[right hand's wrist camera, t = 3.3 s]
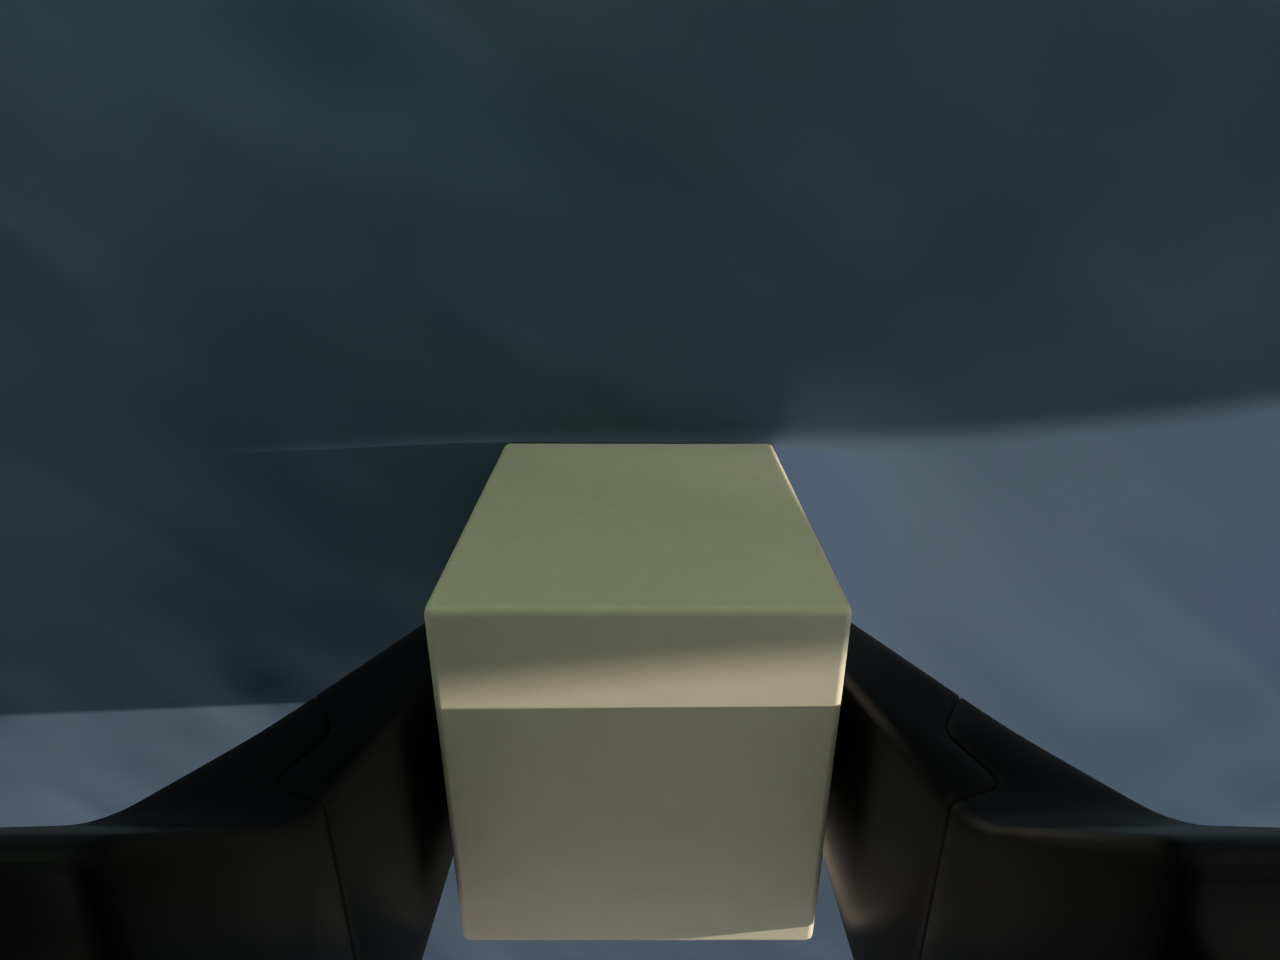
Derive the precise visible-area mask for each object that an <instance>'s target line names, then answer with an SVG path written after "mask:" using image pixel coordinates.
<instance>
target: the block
mask: <svg viewBox="0 0 1280 960" xmlns="http://www.w3.org/2000/svg"><path fill="white" fill-rule="evenodd" d="M851 617H852V611H851V608H850V606H849V604H848V602H847V599H846V597H845V595H844V593H843V591H842V589H841V587H840V585H839V583H838V581H837V579H836V577H835V575H834V573H833V571H832V569H831V567H830V565H829V562H828V560H827V558H826V556H825V554H824V552H823V550H822V548H821V546H820V544H819V542H818V540H817V538H816V536H815V534H814V532H813V530H812V528H811V525H810V523H809V521H808V519H807V517H806V515H805V513H804V511H803V509H802V507H801V505H800V503H799V501H798V499H797V497H796V495H795V493H794V490H793V488H792V486H791V484H790V482H789V480H788V478H787V476H786V474H785V472H784V470H783V468H782V466H781V464H780V462H779V460H778V458H777V456H776V453H775V451H774V449H773V447H772V446H771V445H769V444H508V445H505V447H504V449H503V451H502V453H501V455H500V457H499V459H498V461H497V463H496V465H495V467H494V470H493V472H492V474H491V476H490V478H489V480H488V482H487V484H486V486H485V488H484V490H483V492H482V494H481V496H480V498H479V500H478V502H477V504H476V506H475V508H474V510H473V512H472V514H471V516H470V518H469V520H468V522H467V524H466V526H465V528H464V530H463V532H462V534H461V536H460V538H459V540H458V542H457V544H456V546H455V548H454V550H453V552H452V554H451V557H450V559H449V561H448V563H447V565H446V567H445V569H444V571H443V573H442V575H441V577H440V579H439V581H438V583H437V585H436V587H435V589H434V591H433V593H432V595H431V597H430V599H429V601H428V603H427V605H426V607H425V610H424V618H425V626H426V634H427V643H428V651H429V659H430V667H431V675H432V683H433V692H434V700H435V708H436V716H437V724H438V732H439V741H440V749H441V757H442V765H443V773H444V781H445V790H446V798H447V806H448V814H449V822H450V830H451V838H452V847H453V855H454V863H455V871H456V879H457V887H458V896H459V904H460V912H461V920H462V928H463V934H464V937H465V938H467V939H469V940H807V939H809V938H811V936H812V932H813V926H814V918H815V910H816V902H817V893H818V885H819V877H820V869H821V861H822V853H823V845H824V837H825V828H826V820H827V812H828V804H829V796H830V788H831V780H832V772H833V764H834V755H835V747H836V739H837V731H838V723H839V715H840V707H841V699H842V690H843V682H844V674H845V666H846V658H847V650H848V642H849V634H850V625H851Z"/></svg>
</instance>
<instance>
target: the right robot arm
mask: <svg viewBox="0 0 1280 960" xmlns="http://www.w3.org/2000/svg"><path fill="white" fill-rule="evenodd" d="M822 854H823V858H824V861H825V864H826V868H827V871H828V874H829V878H830V881H831V885H832V888H833V891H834V895H835V898H836V901H837V905H838V908H839V911H840V915H841V918H842V922H843V925H844V928H845V932H846V935H847V938H848V942H849V945H850V948H851V952H852V955H853V959H854V960H1280V828H1271V827H1236V826H1207V825H1197V824H1192V823H1186V822H1182V821H1179V820H1176V819H1172V818H1169V817H1166V816H1164V815H1161V814H1159V813H1156V812H1154V811H1151V810H1150V809H1148V808H1146V807H1144V806H1142V805H1140V804H1138V803H1136V802H1134V801H1133V800H1131V799H1129V798H1127V797H1126V796H1124V795H1122V794H1120V793H1119V792H1117V791H1115V790H1113V789H1112V788H1110V787H1108V786H1106V785H1105V784H1103V783H1101V782H1099V781H1098V780H1096V779H1094V778H1092V777H1091V776H1089V775H1087V774H1085V773H1084V772H1082V771H1080V770H1078V769H1077V768H1075V767H1073V766H1071V765H1070V764H1068V763H1066V762H1064V761H1063V760H1061V759H1059V758H1057V757H1056V756H1054V755H1052V754H1050V753H1049V752H1047V751H1045V750H1043V749H1042V748H1040V747H1038V746H1037V745H1035V744H1033V743H1032V742H1030V741H1028V740H1027V739H1025V738H1023V737H1021V736H1020V735H1018V734H1016V733H1015V732H1013V731H1011V730H1010V729H1008V728H1007V727H1005V726H1004V725H1002V724H1001V723H999V722H998V721H996V720H994V719H993V718H991V717H990V716H988V715H987V714H985V713H984V712H982V711H981V710H979V709H978V708H976V707H975V706H973V705H972V704H970V703H969V702H967V701H966V700H965V699H963V698H960V699H959V696H958V695H957V694H955V693H954V692H952V691H951V690H950V689H948V688H947V687H945V686H944V685H942V684H941V683H939V682H938V681H936V680H935V679H933V678H932V677H930V676H929V675H927V674H926V673H925V672H923V671H922V670H920V669H919V668H917V667H916V666H914V665H913V664H911V663H910V662H908V661H907V660H905V659H904V658H902V657H901V656H899V655H898V654H897V653H895V652H894V651H892V650H891V649H889V648H888V647H886V646H885V645H883V644H882V643H880V642H879V641H877V640H876V639H874V638H873V637H872V636H870V635H869V634H867V633H866V632H864V631H863V630H861V629H860V628H858V627H857V626H855V625H854V624H852V623H851V625H850V634H849V642H848V650H847V658H846V666H845V674H844V682H843V690H842V699H841V707H840V715H839V723H838V731H837V739H836V747H835V755H834V764H833V772H832V780H831V788H830V796H829V804H828V812H827V820H826V828H825V837H824V845H823V853H822ZM452 858H453V847H452V838H451V830H450V822H449V814H448V806H447V798H446V790H445V781H444V773H443V765H442V757H441V749H440V741H439V732H438V724H437V716H436V708H435V700H434V692H433V683H432V675H431V667H430V659H429V651H428V643H427V634H426V626H425V623H424V624H423V625H421V626H420V627H418V628H417V629H415V630H414V631H412V632H411V633H409V634H408V635H406V636H405V637H403V638H402V639H400V640H399V641H397V642H396V643H394V644H393V645H391V646H390V647H388V648H387V649H385V650H384V651H382V652H381V653H379V654H378V655H377V656H375V657H374V658H372V659H371V660H369V661H368V662H366V663H365V664H363V665H362V666H360V667H359V668H357V669H356V670H354V671H353V672H351V673H350V674H348V675H347V676H345V677H344V678H342V679H341V680H339V681H338V682H336V683H335V684H333V685H332V686H330V687H329V688H327V689H326V690H324V691H323V692H322V693H320V694H319V695H317V697H316V699H315V698H313V699H311V700H309V701H308V702H307V703H305V704H304V705H302V706H301V707H299V708H298V709H296V710H295V711H293V712H292V713H290V714H288V715H287V716H285V717H284V718H282V719H281V720H279V721H278V722H276V723H274V724H273V725H271V726H270V727H268V728H267V729H265V730H264V731H262V732H260V733H259V734H257V735H255V736H254V737H252V738H250V739H248V740H247V741H245V742H243V743H242V744H240V745H238V746H237V747H235V748H233V749H231V750H230V751H228V752H226V753H224V754H223V755H221V756H219V757H217V758H216V759H214V760H212V761H210V762H209V763H207V764H205V765H203V766H202V767H200V768H198V769H196V770H194V771H193V772H191V773H189V774H187V775H186V776H184V777H182V778H180V779H179V780H177V781H175V782H173V783H172V784H170V785H168V786H166V787H164V788H163V789H161V790H159V791H157V792H156V793H154V794H152V795H150V796H149V797H147V798H145V799H143V800H142V801H140V802H138V803H136V804H134V805H132V806H130V807H128V808H126V809H124V810H123V811H120V812H118V813H115V814H113V815H110V816H108V817H105V818H102V819H98V820H95V821H91V822H88V823H82V824H77V825H66V826H37V827H2V828H0V960H422V958H423V954H424V951H425V948H426V944H427V941H428V938H429V934H430V931H431V928H432V924H433V921H434V918H435V914H436V911H437V908H438V904H439V901H440V898H441V895H442V891H443V888H444V885H445V881H446V878H447V875H448V871H449V868H450V865H451V861H452Z"/></svg>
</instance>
